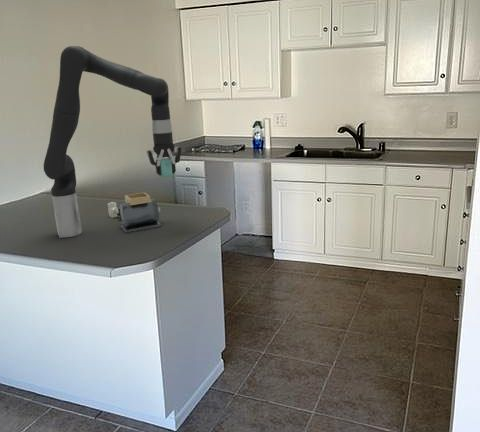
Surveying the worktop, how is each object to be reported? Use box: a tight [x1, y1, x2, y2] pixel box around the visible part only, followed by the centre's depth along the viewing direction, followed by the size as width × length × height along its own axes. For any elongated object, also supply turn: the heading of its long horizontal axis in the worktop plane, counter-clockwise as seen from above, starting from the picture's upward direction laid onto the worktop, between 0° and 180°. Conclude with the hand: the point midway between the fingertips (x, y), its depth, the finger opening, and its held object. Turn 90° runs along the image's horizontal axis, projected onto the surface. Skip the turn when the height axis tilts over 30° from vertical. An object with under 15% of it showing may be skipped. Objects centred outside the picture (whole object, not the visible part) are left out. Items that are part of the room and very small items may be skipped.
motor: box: [119, 191, 162, 233], centre depth 201 cm, size 16×10×14 cm, turn 116°
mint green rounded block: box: [159, 157, 174, 179], centre depth 188 cm, size 7×5×7 cm
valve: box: [107, 201, 122, 221], centre depth 217 cm, size 7×7×12 cm
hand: (166, 174), depth 190 cm, fingers closed on mint green rounded block, 5 cm apart
